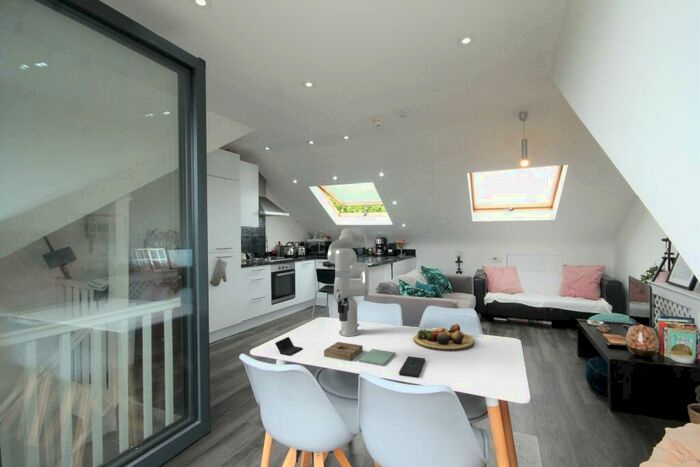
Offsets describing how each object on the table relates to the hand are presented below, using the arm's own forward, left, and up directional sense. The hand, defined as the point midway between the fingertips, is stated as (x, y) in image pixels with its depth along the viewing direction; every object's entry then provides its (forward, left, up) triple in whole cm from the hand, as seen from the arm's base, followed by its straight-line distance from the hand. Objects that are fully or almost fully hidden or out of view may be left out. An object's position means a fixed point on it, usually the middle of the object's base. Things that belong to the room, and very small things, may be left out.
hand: (343, 311), depth 162 cm
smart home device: (+2, +35, -21) cm, 41 cm away
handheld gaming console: (+8, -27, -21) cm, 35 cm away
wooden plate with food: (-40, +40, -21) cm, 61 cm away
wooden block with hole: (0, 0, -21) cm, 21 cm away
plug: (0, 0, -4) cm, 4 cm away
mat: (-2, +17, -21) cm, 27 cm away
